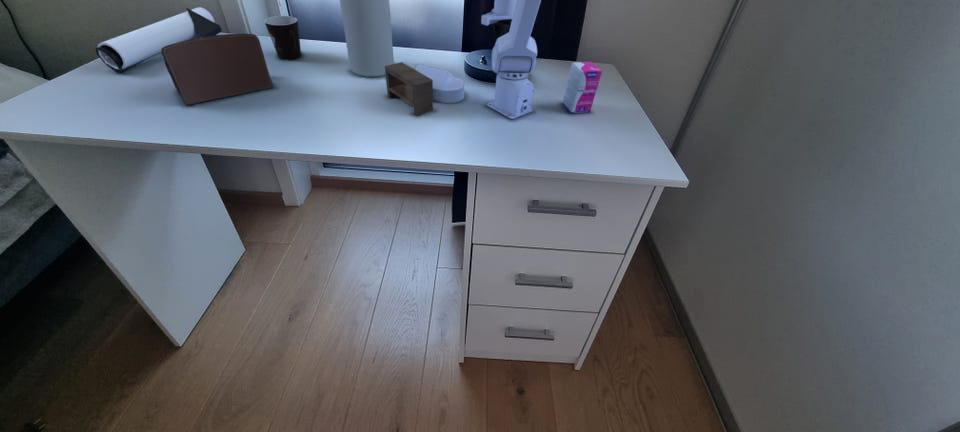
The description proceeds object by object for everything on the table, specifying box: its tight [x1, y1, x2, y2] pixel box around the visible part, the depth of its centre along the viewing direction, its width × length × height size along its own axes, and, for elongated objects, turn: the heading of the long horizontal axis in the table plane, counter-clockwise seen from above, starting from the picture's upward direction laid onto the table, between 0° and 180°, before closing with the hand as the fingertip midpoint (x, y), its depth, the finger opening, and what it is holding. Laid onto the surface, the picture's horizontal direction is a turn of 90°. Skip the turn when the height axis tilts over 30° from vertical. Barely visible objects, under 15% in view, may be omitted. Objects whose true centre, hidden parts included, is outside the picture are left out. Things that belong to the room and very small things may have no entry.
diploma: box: [95, 6, 223, 74], centre depth 111 cm, size 35×9×14 cm
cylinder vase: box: [339, 0, 395, 78], centre depth 107 cm, size 12×12×25 cm
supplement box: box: [561, 61, 603, 114], centre depth 101 cm, size 6×6×12 cm
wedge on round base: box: [414, 64, 465, 104], centre depth 104 cm, size 9×7×13 cm
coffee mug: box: [263, 15, 302, 61], centre depth 114 cm, size 12×9×10 cm
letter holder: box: [160, 33, 274, 107], centre depth 95 cm, size 10×20×14 cm, turn 130°
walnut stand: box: [385, 62, 434, 117], centre depth 98 cm, size 13×5×8 cm, turn 42°
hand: (501, 48), depth 108 cm, fingers closed
